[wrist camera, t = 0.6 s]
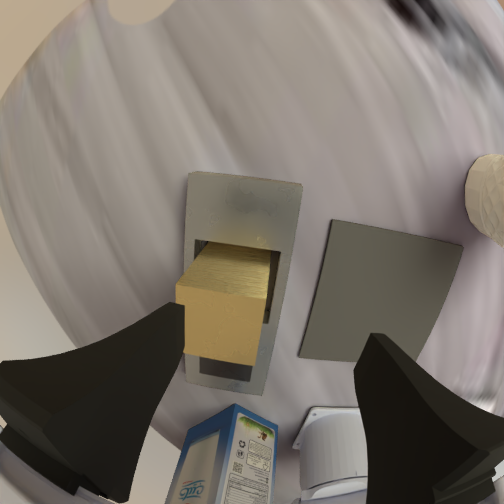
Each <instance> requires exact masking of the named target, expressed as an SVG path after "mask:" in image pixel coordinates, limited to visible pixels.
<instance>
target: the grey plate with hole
mask: <svg viewBox="0 0 504 504" xmlns="http://www.w3.org/2000/svg"><path fill="white" fill-rule="evenodd" d="M302 192H303V186H302V185H301V184H298V183H291V182H285V181H278V180H271V179H263V178H255V177H247V176H239V175H230V174H220V173H210V172H198V171H197V172H192V173H189V174H188V186H187V201H186V218H185V241H184V273H185V271H186V270H187V269H188V268H189V266H190V265H191V264H192V262H193V261H194V260H195V259H196V257H197V256H198V255H199V254H200V252H201V242H202V240H205V241H212V242H219V243H226V244H233V245H240V246H247V247H254V248H261V249H267V250H274V251H280V253H279V259H278V265H277V271H276V277H275V283H274V289H273V294H272V300H271V306H270V311H266V310H264V316H263V322H262V328H261V334H260V339H259V345H258V351H257V356H256V362H255V366H250V365H244V364H238V363H232V362H226V361H220V360H215V359H210V358H205V357H200V356H195V355H191V354H186V353H185V369H186V382H188V383H193V384H197V385H202V386H206V387H211V388H216V389H222V390H227V391H233V392H239V393H245V394H252V395H260V396H262V394H263V390H264V386H265V382H266V378H267V373H268V369H269V365H270V360H271V356H272V351H273V347H274V342H275V338H276V333H277V328H278V324H279V319H280V314H281V309H282V304H283V299H284V294H285V289H286V284H287V279H288V273H289V268H290V263H291V257H292V252H293V246H294V240H295V235H296V229H297V223H298V217H299V211H300V204H301V198H302Z"/></svg>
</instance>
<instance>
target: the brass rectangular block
mask: <svg viewBox="0 0 504 504" xmlns="http://www.w3.org/2000/svg"><path fill="white" fill-rule="evenodd" d="M270 259H271V250H267V249H261V248H254V247H247V246H240V245H233V244H226V243H219V242H212V241H209V242H208V243H207V245H206V246H205V247H204V248H203V250H202V251H201V252H200V254H199V255H198V256H197V257H196V259H195V260H194V261H193V262H192V264H191V265H190V266H189V268H188V269H187V270H186V271H185V273H184V274H183V275H182V277H181V278H180V279H179V281H178V282H177V283H176V303H177V304H181V305H185V348H184V350H183V353H186V354H191V355H195V356H200V357H205V358H210V359H215V360H220V361H226V362H232V363H238V364H244V365H250V366H255V362H256V356H257V351H258V345H259V339H260V334H261V328H262V322H263V316H264V310H265V305H266V298H267V289H268V279H269V269H270Z"/></svg>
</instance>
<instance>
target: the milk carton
mask: <svg viewBox="0 0 504 504" xmlns="http://www.w3.org/2000/svg"><path fill="white" fill-rule="evenodd" d="M277 435H278V425H275V424H273V423H271V422H269V421H267V420H265V419H263V418H261V417H260V416H258V415H256V414H254V413H252V412H250V411H248V410H246V409H245V408H243V407H241V406H239V405H237V404H234V405H232V406H230V407H229V408H227V409H225V410H223V411H222V412H220V413H218V414H216V415H215V416H213V417H211V418H209V419H208V420H206V421H204V422H202V423H200V424H198V425H196V426H194V427H193V428H191V429H189V430H188V433H187V436H186V439H185V442H184V445H183V448H182V451H181V455H180V458H179V461H178V464H177V467H176V470H175V473H174V476H173V479H172V482H171V486H170V489H169V492H168V495H167V498H166V501H165V504H273V495H274V482H275V468H276V453H277Z"/></svg>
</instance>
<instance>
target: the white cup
mask: <svg viewBox="0 0 504 504" xmlns="http://www.w3.org/2000/svg"><path fill="white" fill-rule="evenodd" d="M465 207H466V210H467V213H468V216H469V219H470V222H471V223H472V224H473V225H474V226H475V227H476V228H477V229H478V231H480V232H481V233H483V234H484V235H486V236H488V237H489V238H491V239H492V240H494V241H495V242H496V243H497V244H498V245H500V246H501V247H503V248H504V155H496V154H488V155H485V156H482V157H479V158H477V160H476V161H475V163H474V164H473V165H472V167H471V168H470V169H469V173H468V177H467V180H466V184H465Z"/></svg>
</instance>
